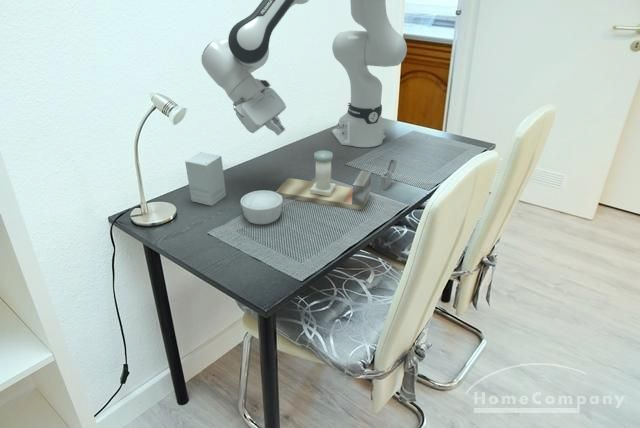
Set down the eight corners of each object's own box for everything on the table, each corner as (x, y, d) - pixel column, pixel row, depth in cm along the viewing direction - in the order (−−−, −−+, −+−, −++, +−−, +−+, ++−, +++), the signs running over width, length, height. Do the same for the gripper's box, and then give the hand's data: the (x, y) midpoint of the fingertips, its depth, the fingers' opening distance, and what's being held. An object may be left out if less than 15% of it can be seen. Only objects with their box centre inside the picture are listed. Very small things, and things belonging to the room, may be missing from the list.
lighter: (384, 190, 136) (386, 166, 132) (379, 189, 137) (381, 164, 133) (395, 182, 141) (397, 158, 137) (390, 180, 142) (392, 157, 138)
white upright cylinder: (310, 193, 130) (309, 156, 124) (316, 184, 135) (316, 148, 129) (329, 196, 129) (330, 159, 123) (335, 187, 133) (336, 151, 128)
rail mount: (275, 196, 132) (274, 173, 128) (288, 182, 140) (287, 159, 137) (362, 210, 125) (363, 186, 121) (370, 194, 133) (371, 171, 130)
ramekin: (238, 210, 125) (236, 193, 122) (276, 203, 129) (275, 187, 126) (247, 230, 116) (245, 212, 113) (288, 222, 120) (288, 205, 117)
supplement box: (226, 195, 132) (222, 155, 126) (211, 206, 127) (206, 165, 120) (206, 190, 135) (201, 151, 129) (190, 201, 129) (184, 160, 123)
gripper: (237, 96, 114) (274, 137, 116) (269, 79, 131) (301, 115, 133) (223, 112, 118) (259, 151, 120) (256, 93, 135) (287, 128, 137)
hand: (281, 132), depth 127 cm, fingers closed
